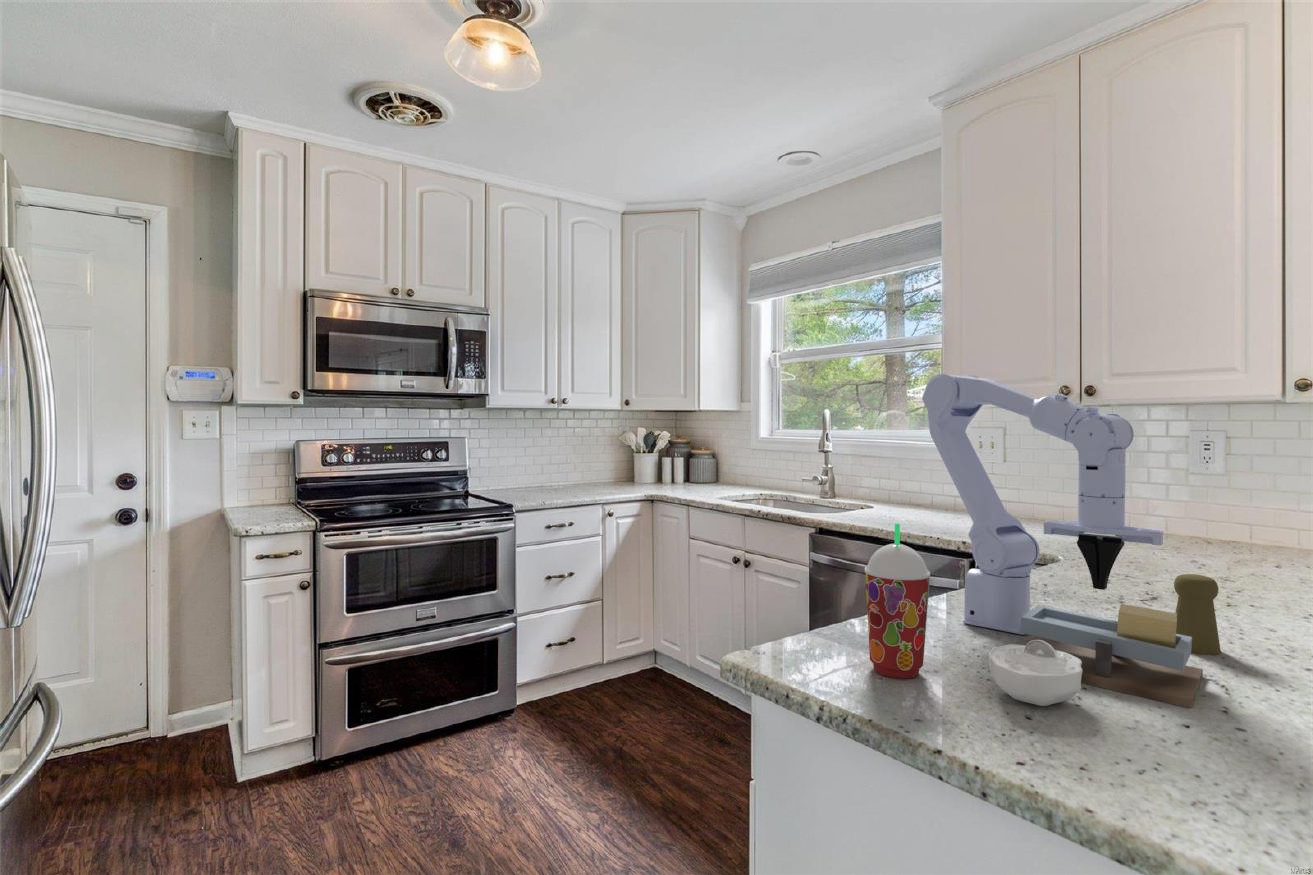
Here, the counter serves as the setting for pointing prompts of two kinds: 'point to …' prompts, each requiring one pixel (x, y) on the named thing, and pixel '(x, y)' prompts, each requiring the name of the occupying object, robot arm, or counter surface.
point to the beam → (1102, 636)
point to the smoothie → (897, 609)
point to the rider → (1147, 625)
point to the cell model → (1036, 672)
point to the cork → (1197, 612)
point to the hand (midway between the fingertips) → (1100, 588)
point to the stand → (1132, 674)
